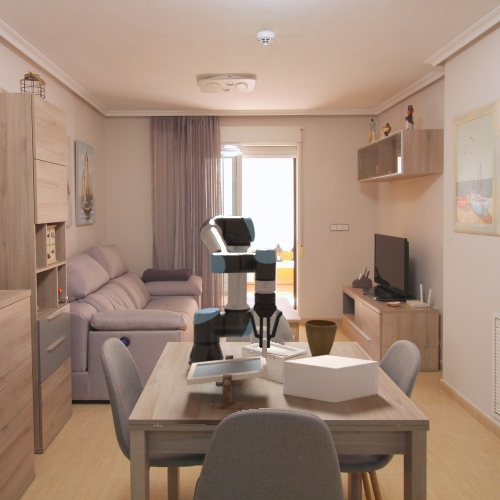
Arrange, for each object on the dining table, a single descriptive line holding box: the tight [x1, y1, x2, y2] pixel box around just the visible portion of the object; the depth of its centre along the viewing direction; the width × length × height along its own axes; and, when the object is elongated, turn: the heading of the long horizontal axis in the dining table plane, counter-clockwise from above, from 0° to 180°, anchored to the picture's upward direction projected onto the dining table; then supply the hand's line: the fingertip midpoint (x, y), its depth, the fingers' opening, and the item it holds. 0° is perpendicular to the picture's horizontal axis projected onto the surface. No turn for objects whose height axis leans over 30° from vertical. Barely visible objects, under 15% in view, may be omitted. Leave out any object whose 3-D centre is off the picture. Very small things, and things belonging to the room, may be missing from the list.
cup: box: [270, 338, 286, 346], centre depth 231 cm, size 8×8×10 cm
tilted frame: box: [186, 355, 269, 386], centre depth 190 cm, size 28×21×2 cm
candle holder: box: [249, 325, 271, 345], centre depth 248 cm, size 10×10×12 cm
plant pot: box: [304, 319, 339, 357], centre depth 242 cm, size 15×15×16 cm
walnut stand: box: [211, 354, 243, 410], centre depth 190 cm, size 10×27×11 cm, turn 1°
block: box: [282, 354, 379, 403], centre depth 193 cm, size 18×35×12 cm, turn 92°
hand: (264, 356), depth 190 cm, fingers closed
